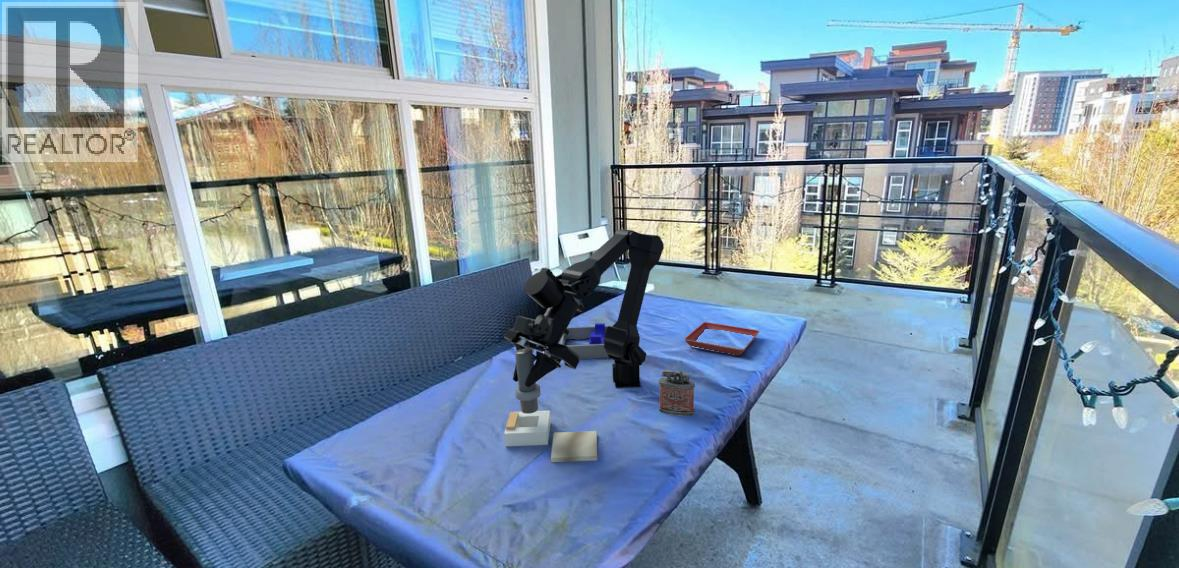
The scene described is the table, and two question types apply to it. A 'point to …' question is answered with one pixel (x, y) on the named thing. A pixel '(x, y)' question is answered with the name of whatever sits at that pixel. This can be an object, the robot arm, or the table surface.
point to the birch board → (574, 446)
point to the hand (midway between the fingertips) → (520, 383)
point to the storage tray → (584, 350)
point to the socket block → (527, 428)
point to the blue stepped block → (598, 334)
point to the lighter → (676, 393)
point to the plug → (523, 392)
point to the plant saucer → (698, 331)
